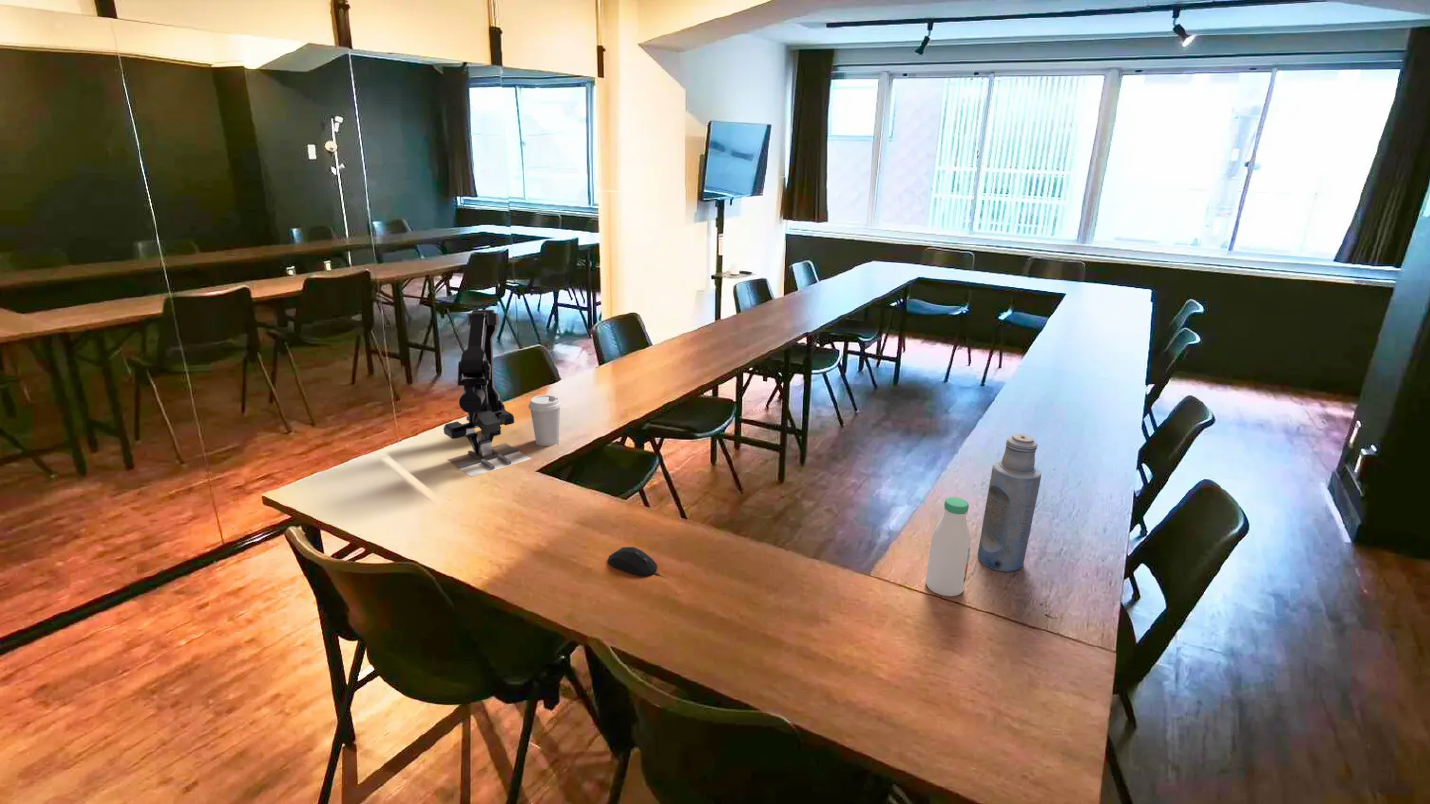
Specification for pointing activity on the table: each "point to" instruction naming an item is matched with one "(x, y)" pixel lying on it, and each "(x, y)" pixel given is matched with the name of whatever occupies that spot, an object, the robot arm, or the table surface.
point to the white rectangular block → (484, 447)
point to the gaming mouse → (633, 562)
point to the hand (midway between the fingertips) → (482, 451)
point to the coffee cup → (545, 419)
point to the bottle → (1010, 506)
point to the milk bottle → (950, 550)
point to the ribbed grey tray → (489, 460)
